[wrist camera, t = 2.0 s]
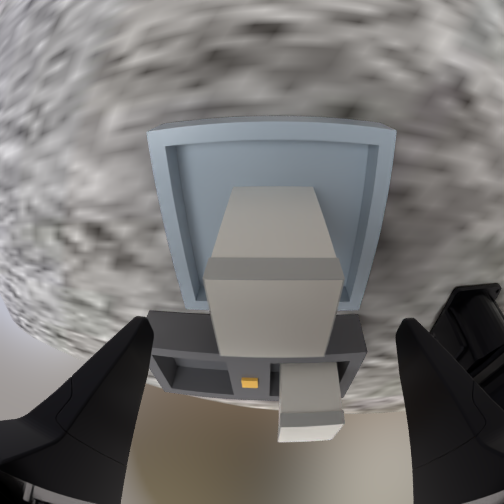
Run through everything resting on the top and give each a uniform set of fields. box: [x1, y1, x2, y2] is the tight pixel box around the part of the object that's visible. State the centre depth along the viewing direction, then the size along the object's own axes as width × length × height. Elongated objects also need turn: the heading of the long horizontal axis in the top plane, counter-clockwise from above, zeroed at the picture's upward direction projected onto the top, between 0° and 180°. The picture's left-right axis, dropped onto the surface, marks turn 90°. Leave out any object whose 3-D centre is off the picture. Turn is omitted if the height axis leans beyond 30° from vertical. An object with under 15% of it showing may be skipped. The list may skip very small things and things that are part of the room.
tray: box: [147, 116, 397, 311], centre depth 14 cm, size 11×11×2 cm
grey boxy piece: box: [147, 311, 367, 442], centre depth 19 cm, size 16×8×8 cm, turn 92°
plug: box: [203, 186, 345, 358], centre depth 12 cm, size 4×4×7 cm
